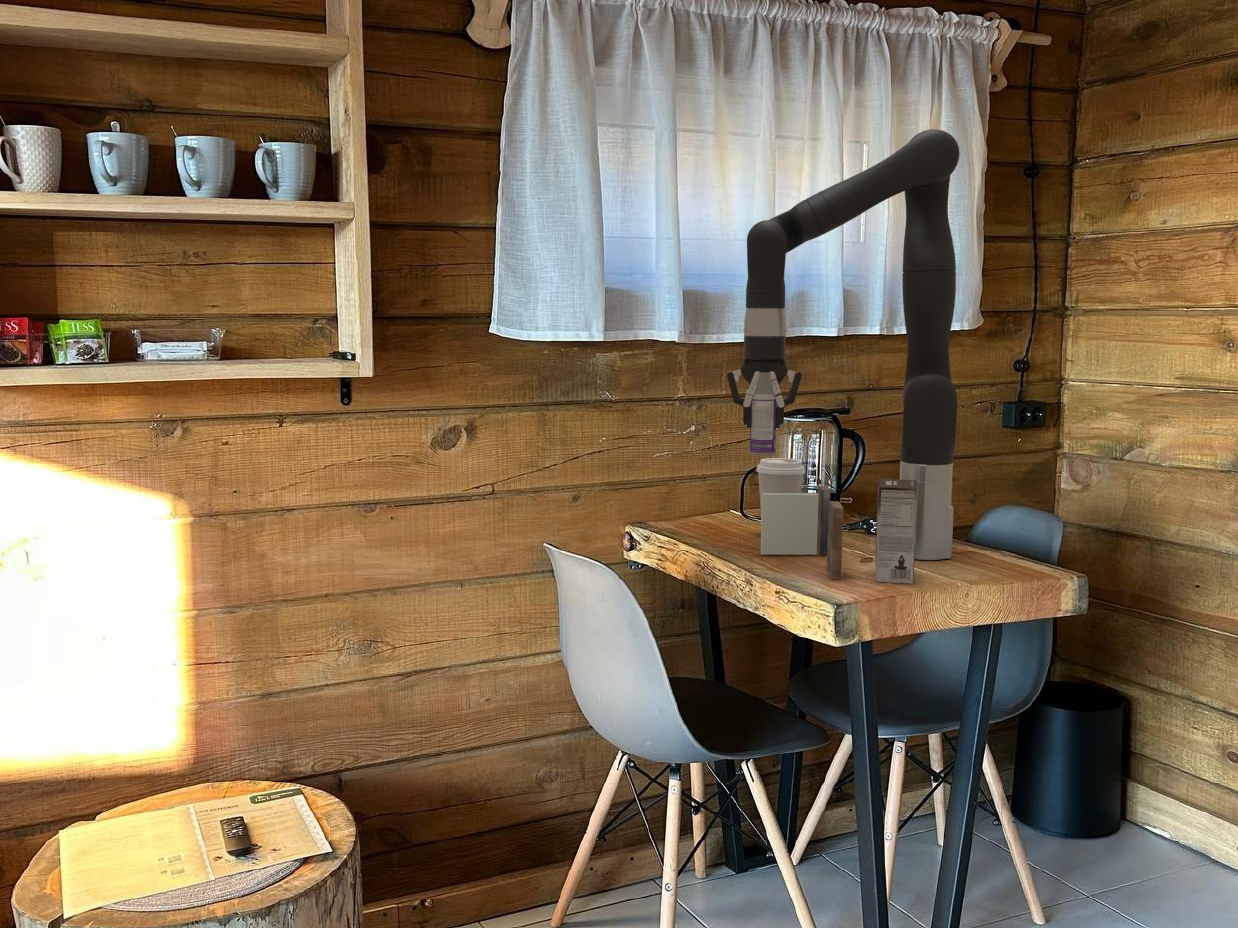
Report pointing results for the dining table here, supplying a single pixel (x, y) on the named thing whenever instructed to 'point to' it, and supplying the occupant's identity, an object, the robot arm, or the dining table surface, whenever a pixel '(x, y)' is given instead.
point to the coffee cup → (780, 476)
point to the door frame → (830, 532)
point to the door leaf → (789, 523)
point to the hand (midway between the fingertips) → (763, 427)
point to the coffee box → (896, 530)
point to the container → (763, 417)
